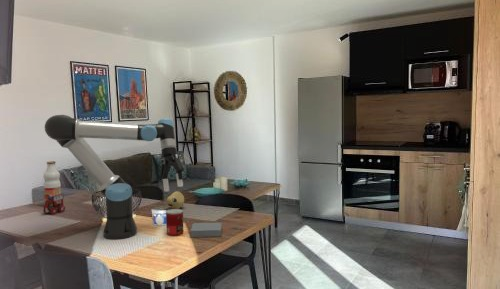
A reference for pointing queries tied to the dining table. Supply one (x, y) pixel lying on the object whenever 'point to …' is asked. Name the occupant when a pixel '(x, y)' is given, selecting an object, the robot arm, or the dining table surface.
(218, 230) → the grey flat block
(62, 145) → the robot arm
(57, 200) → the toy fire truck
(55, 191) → the fruit juice
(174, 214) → the canned food
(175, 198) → the tan rounded lump
